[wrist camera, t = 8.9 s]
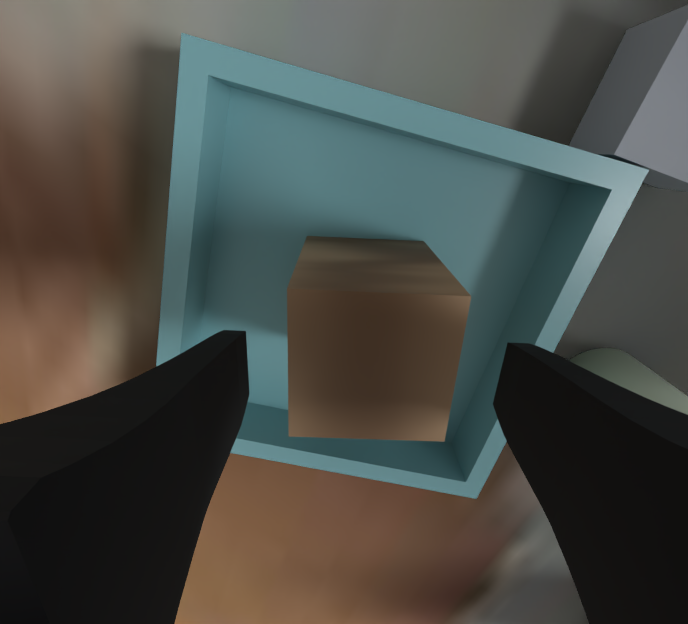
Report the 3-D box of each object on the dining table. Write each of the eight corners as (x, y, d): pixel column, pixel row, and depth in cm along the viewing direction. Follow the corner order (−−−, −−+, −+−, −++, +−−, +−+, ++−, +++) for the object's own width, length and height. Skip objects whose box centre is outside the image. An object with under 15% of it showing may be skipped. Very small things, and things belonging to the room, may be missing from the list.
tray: (591, 165, 15) (649, 169, 12) (457, 449, 20) (476, 498, 17) (214, 56, 13) (181, 32, 10) (179, 394, 18) (150, 437, 16)
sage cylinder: (660, 359, 18) (770, 432, 13) (612, 433, 20) (695, 521, 15) (573, 338, 18) (655, 407, 13) (531, 416, 19) (591, 501, 15)
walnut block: (423, 241, 15) (471, 296, 10) (410, 344, 17) (444, 441, 11) (306, 235, 15) (286, 288, 9) (305, 340, 17) (288, 436, 11)
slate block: (722, 73, 14) (818, 55, 11) (653, 187, 15) (724, 196, 12) (623, 30, 13) (698, 0, 10) (562, 152, 15) (614, 154, 12)
